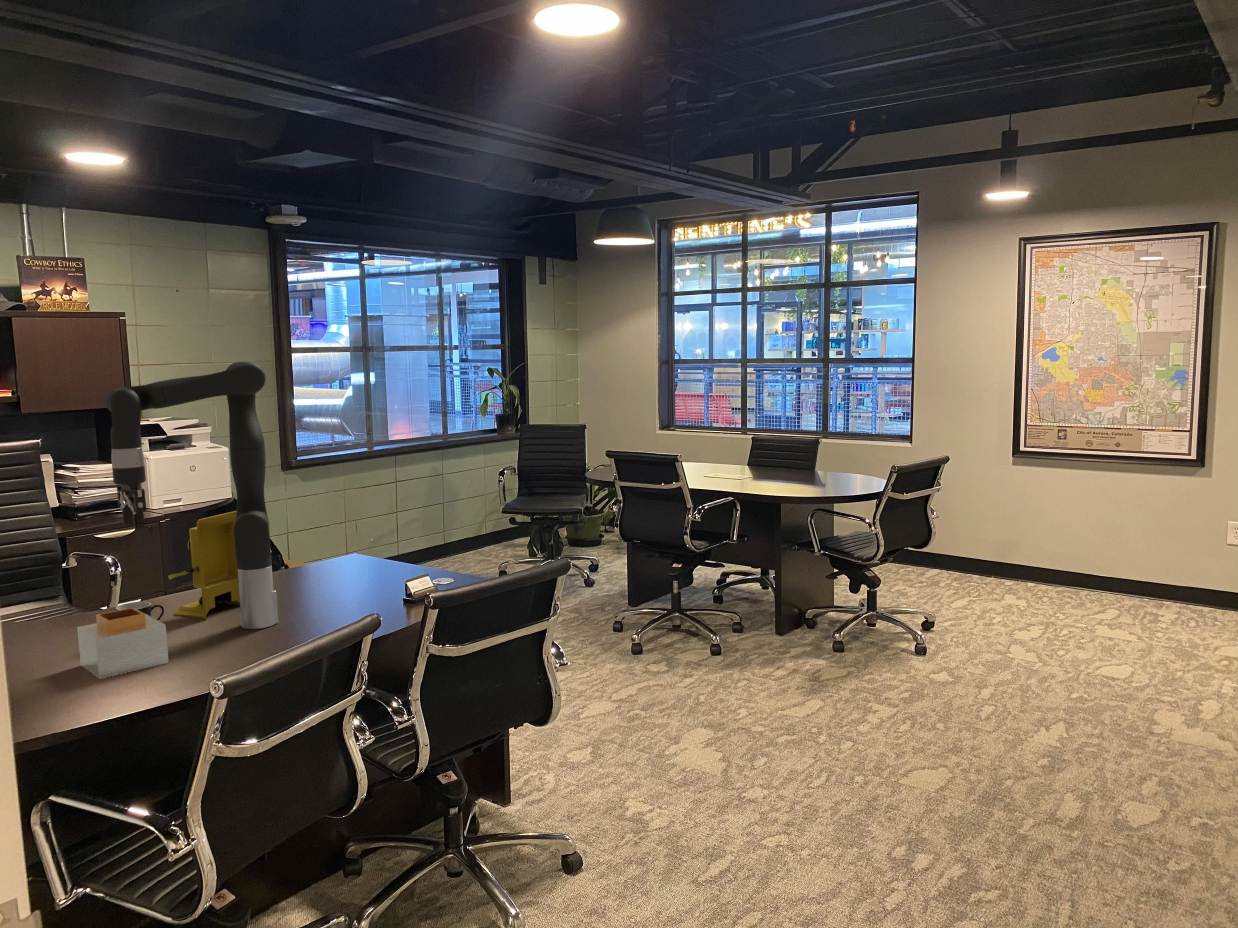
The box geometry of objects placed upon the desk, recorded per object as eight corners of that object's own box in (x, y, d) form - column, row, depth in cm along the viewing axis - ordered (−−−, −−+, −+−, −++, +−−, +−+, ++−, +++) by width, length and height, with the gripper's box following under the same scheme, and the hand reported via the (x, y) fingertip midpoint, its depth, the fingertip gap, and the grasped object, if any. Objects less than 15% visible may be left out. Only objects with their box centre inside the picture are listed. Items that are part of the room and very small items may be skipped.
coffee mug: (118, 648, 247) (115, 611, 246) (119, 639, 255) (115, 604, 254) (166, 641, 253) (163, 605, 251) (165, 633, 260) (163, 598, 259)
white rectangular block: (147, 650, 245) (143, 602, 244) (168, 662, 235) (164, 613, 233) (80, 665, 234) (76, 615, 233) (99, 679, 224) (94, 627, 222)
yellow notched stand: (233, 594, 301) (227, 503, 297) (267, 597, 296) (261, 505, 292) (154, 621, 272) (146, 521, 268) (191, 625, 267) (183, 523, 263)
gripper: (153, 465, 239) (158, 527, 241) (134, 461, 249) (139, 521, 251) (122, 468, 234) (127, 531, 236) (103, 464, 244) (109, 525, 246)
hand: (133, 526), depth 243 cm, fingers open, 8 cm apart
